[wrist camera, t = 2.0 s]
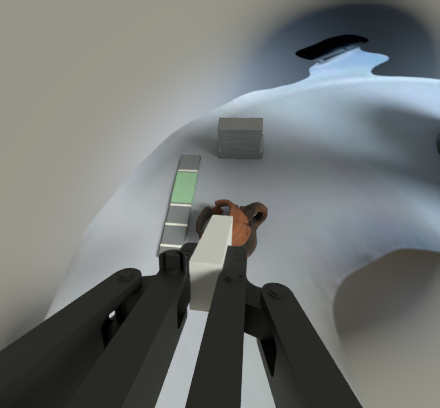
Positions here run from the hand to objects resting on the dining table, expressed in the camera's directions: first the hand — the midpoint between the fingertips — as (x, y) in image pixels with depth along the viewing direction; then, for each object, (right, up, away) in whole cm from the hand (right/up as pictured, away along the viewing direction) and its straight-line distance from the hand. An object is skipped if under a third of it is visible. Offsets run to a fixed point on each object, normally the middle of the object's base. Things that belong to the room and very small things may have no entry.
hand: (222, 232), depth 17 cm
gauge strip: (-7, +3, +27) cm, 28 cm away
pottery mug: (+2, -3, +23) cm, 23 cm away
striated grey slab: (+4, +13, +31) cm, 34 cm away
